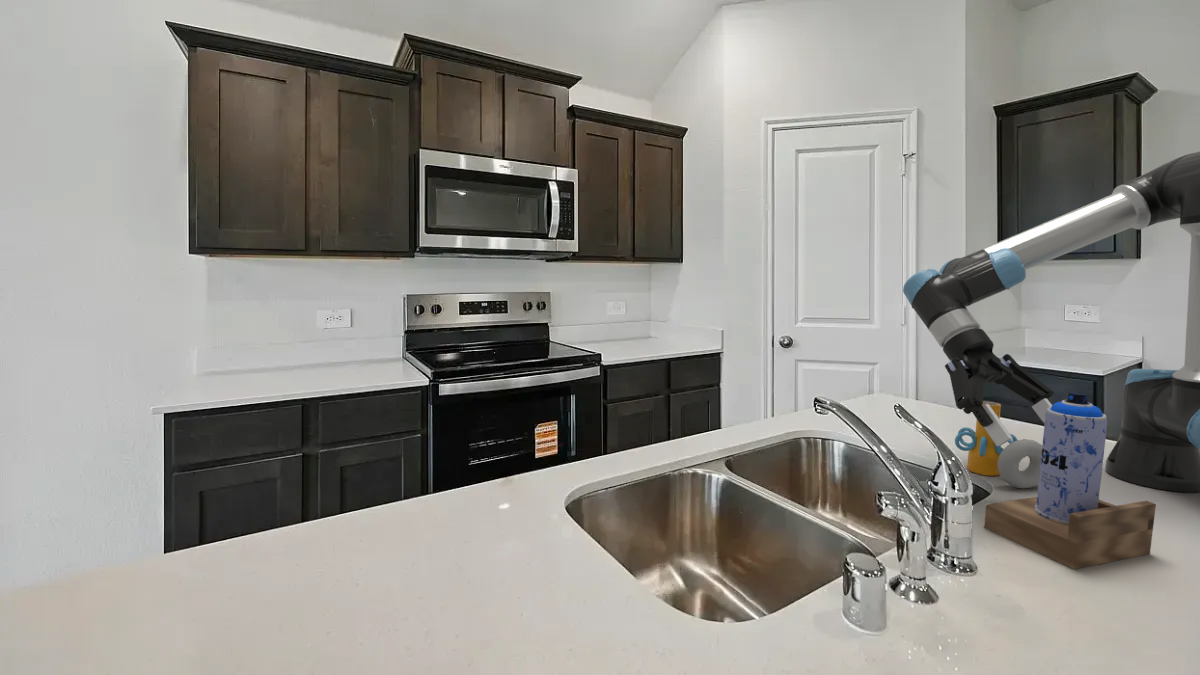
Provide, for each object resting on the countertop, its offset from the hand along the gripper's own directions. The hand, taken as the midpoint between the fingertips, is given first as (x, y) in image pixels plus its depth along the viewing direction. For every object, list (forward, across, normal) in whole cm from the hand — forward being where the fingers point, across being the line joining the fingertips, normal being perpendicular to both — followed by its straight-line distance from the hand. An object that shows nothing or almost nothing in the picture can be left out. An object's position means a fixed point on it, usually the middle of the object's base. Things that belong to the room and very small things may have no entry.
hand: (1035, 438), depth 93 cm
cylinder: (-4, -17, -26) cm, 31 cm away
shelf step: (+15, 0, -7) cm, 16 cm away
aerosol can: (+12, 0, -4) cm, 13 cm away
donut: (+2, -15, -19) cm, 25 cm away
